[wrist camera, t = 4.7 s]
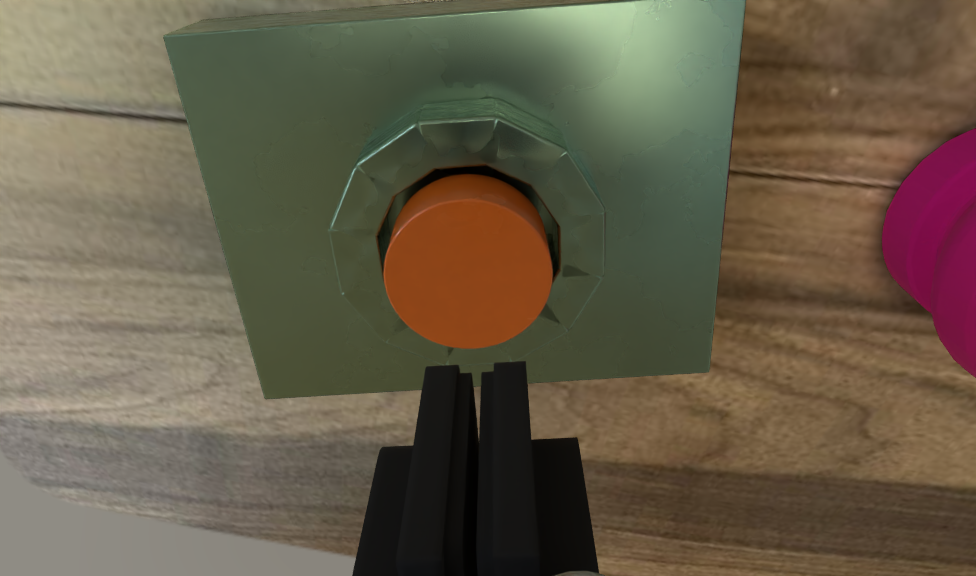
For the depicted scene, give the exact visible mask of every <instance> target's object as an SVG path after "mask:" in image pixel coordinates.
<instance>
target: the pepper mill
mask: <svg viewBox="0 0 976 576" xmlns="http://www.w3.org/2000/svg"><path fill="white" fill-rule="evenodd" d="M882 250H883V255H884V260H885V263H886V266H887V268H888V270H889V272H890V274H891V275H892V277H893V278H894V279H895V281H896V282H897V283H898V284H899V285H900V286H901V287H902V288H903V289H904V290H905V291H906V292H907V293H909V294H910V295H911V296H912V297H913V298H914V299H915V300H916V301H917V302H919V303H920V304H921V305H922V306H923V307H924V308H925V309H926V310H927V311H929V312H930V313H932V317H933V321H934V326H935V328H936V331H937V333H938V336H939V338H940V340H941V342H942V343H943V345H944V346H945V348H946V349H947V350H948V352H949V353H950V355H951V356H952V358H953V359H954V360H955V361H956V362H957V363H958V364H960V365H961V366H962V367H963V368H964V369H965V370H966V371H968V372H969V373H970V374H971V375H973V376H974V377H975V378H976V128H974V129H972V130H970V131H968V132H966V133H963V134H961V135H959V136H957V137H955V138H953V139H951V140H949V141H947V142H946V143H944V144H943V145H942V146H940V147H939V148H938V149H936V150H935V151H934V152H932V153H931V154H930V155H929V156H927V157H926V158H925V159H923V160H922V161H921V162H920V164H919V165H918V166H917V167H916V168H915V169H914V170H913V171H912V172H911V174H910V175H909V176H908V177H907V178H906V179H905V180H904V181H903V182H902V184H901V186H900V187H899V189H898V191H897V192H896V194H895V196H894V198H893V200H892V202H891V204H890V206H889V208H888V210H887V213H886V218H885V222H884V227H883V233H882Z"/></svg>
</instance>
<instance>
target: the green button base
mask: <svg viewBox="0 0 976 576" xmlns="http://www.w3.org/2000/svg"><path fill="white" fill-rule="evenodd" d="M745 7H746V0H452V1H439V2H426V3H413V4H400V5H387V6H374V7H361V8H349V9H336V10H323V11H310V12H297V13H284V14H271V15H258V16H245V17H232V18H219V19H206V20H201V21H199V22H196V23H193V24H191V25H188V26H186V27H183V28H181V29H178V30H176V31H173V32H171V33H168V34H166V35H164V37H163V38H164V41H165V45H166V48H167V52H168V56H169V59H170V63H171V66H172V70H173V73H174V77H175V81H176V84H177V88H178V91H179V95H180V98H181V102H182V106H183V109H184V113H185V116H186V120H187V123H188V127H189V131H190V134H191V138H192V141H193V145H194V148H195V152H196V156H197V159H198V163H199V166H200V170H201V173H202V177H203V180H204V184H205V188H206V191H207V195H208V198H209V202H210V205H211V209H212V213H213V216H214V220H215V223H216V227H217V230H218V234H219V238H220V241H221V245H222V248H223V252H224V255H225V259H226V263H227V266H228V270H229V273H230V277H231V280H232V284H233V288H234V291H235V295H236V298H237V302H238V305H239V309H240V313H241V316H242V320H243V323H244V327H245V330H246V334H247V338H248V341H249V345H250V348H251V352H252V355H253V359H254V363H255V366H256V370H257V373H258V377H259V380H260V384H261V387H262V391H263V395H264V398H265V399H278V398H295V397H311V396H327V395H344V394H360V393H377V392H393V391H410V390H422V387H423V380H424V374H425V368H426V367H427V366H442V365H459V368H460V373H472V378H473V387H476V386H481V373H482V372H491V371H494V363H497V362H516V361H526V371H527V383H541V382H558V381H574V380H591V379H607V378H624V377H640V376H657V375H673V374H690V373H706V372H709V370H710V360H711V350H712V340H713V330H714V319H715V309H716V299H717V289H718V279H719V269H720V259H721V249H722V239H723V229H724V219H725V209H726V199H727V188H728V178H729V168H730V158H731V148H732V138H733V128H734V118H735V108H736V98H737V88H738V78H739V68H740V57H741V47H742V37H743V27H744V17H745ZM460 174H477V175H485V176H489V177H493V178H496V179H498V180H501V181H504V182H506V183H508V184H509V185H511V186H513V187H515V188H516V189H517V190H519V191H520V192H521V193H523V194H524V195H525V196H526V197H527V198H528V199H529V200H530V202H531V203H532V204H533V205H534V207H535V208H536V210H537V211H538V213H539V215H540V216H541V219H542V221H543V224H544V227H545V231H546V235H547V240H548V245H549V251H550V256H551V261H552V269H553V279H552V286H551V292H550V294H549V297H548V300H547V302H546V304H545V306H544V308H543V310H542V311H541V313H540V314H539V316H538V317H537V318H536V319H535V320H534V322H533V323H532V324H531V325H530V326H529V327H527V328H526V329H525V330H524V331H523V332H521V333H520V334H518V335H517V336H515V337H513V338H511V339H509V340H507V341H505V342H503V343H500V344H497V345H494V346H489V347H485V348H476V349H462V348H453V347H449V346H444V345H441V344H438V343H435V342H433V341H431V340H428V339H426V338H424V337H423V336H421V335H419V334H418V333H416V332H415V331H414V330H412V329H411V328H410V327H409V326H408V325H407V324H406V323H405V322H404V321H403V320H402V319H401V318H400V317H399V315H398V314H397V313H396V311H395V310H394V308H393V306H392V304H391V303H390V300H389V298H388V295H387V293H386V289H385V284H384V275H383V272H384V261H385V256H386V252H387V249H388V245H389V242H390V238H391V235H392V231H393V228H394V224H395V222H396V219H397V217H398V215H399V213H400V211H401V209H402V208H403V206H404V205H405V204H406V202H407V201H408V200H409V199H410V198H411V197H412V196H413V195H414V194H415V193H416V192H418V191H419V190H420V189H421V188H423V187H425V186H426V185H428V184H430V183H432V182H434V181H436V180H439V179H441V178H445V177H448V176H452V175H460Z"/></svg>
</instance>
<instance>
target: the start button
mask: <svg viewBox="0 0 976 576" xmlns="http://www.w3.org/2000/svg"><path fill="white" fill-rule="evenodd" d="M383 275H384V284H385V289H386V293H387V295H388V298H389V300H390V303H391V304H392V306H393V308H394V310H395V311H396V313H397V314H398V315H399V317H400V318H401V319H402V320H403V321H404V322H405V323H406V324H407V325H408V326H409V327H410V328H411V329H412V330H414V331H415V332H416V333H418V334H419V335H421V336H423V337H424V338H426V339H428V340H431V341H433V342H435V343H438V344H441V345H444V346H449V347H453V348H462V349H476V348H485V347H489V346H494V345H497V344H500V343H503V342H505V341H507V340H509V339H511V338H513V337H515V336H517V335H518V334H520V333H521V332H523V331H524V330H525V329H526V328H527V327H529V326H530V325H531V324H532V323H533V322H534V320H535V319H536V318H537V317H538V316H539V314H540V313H541V311H542V310H543V308H544V306H545V304H546V302H547V300H548V297H549V294H550V292H551V286H552V279H553V269H552V261H551V256H550V251H549V245H548V240H547V235H546V231H545V227H544V224H543V221H542V219H541V216H540V215H539V213H538V211H537V210H536V208H535V207H534V205H533V204H532V203H531V202H530V200H529V199H528V198H527V197H526V196H525V195H524V194H523V193H521V192H520V191H519V190H517V189H516V188H515V187H513V186H511V185H509V184H508V183H506V182H504V181H501V180H498V179H496V178H493V177H489V176H485V175H477V174H460V175H452V176H448V177H445V178H441V179H439V180H436V181H434V182H432V183H430V184H428V185H426V186H425V187H423V188H421V189H420V190H419V191H418V192H416V193H415V194H414V195H413V196H412V197H411V198H410V199H409V200H408V201H407V202H406V204H405V205H404V206H403V208H402V209H401V211H400V213H399V215H398V217H397V219H396V222H395V224H394V228H393V231H392V235H391V238H390V242H389V245H388V249H387V252H386V256H385V261H384V272H383Z"/></svg>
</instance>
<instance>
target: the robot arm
mask: <svg viewBox="0 0 976 576" xmlns="http://www.w3.org/2000/svg"><path fill="white" fill-rule="evenodd" d="M352 576H605V575H602V574H599V569H598V563H597V557H596V550H595V544H594V538H593V531H592V525H591V519H590V512H589V506H588V500H587V493H586V487H585V481H584V474H583V468H582V461H581V455H580V449H579V443H578V439H577V438H557V439H537V440H531V429H530V414H529V400H528V385H527V371H526V361H516V362H497V363H494V371H491V372H482V373H481V401H480V434H479V438H478V428H477V418H476V407H475V397H474V387H473V378H472V373H460V368H459V365H442V366H427V367H426V368H425V374H424V380H423V387H422V393H421V400H420V406H419V413H418V419H417V426H416V432H415V439H414V445H413V446H394V447H382V448H381V450H380V452H379V455H378V459H377V464H376V468H375V473H374V478H373V482H372V487H371V492H370V496H369V501H368V505H367V510H366V515H365V519H364V524H363V529H362V533H361V538H360V542H359V547H358V552H357V556H356V561H355V566H354V570H353V575H352Z"/></svg>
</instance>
